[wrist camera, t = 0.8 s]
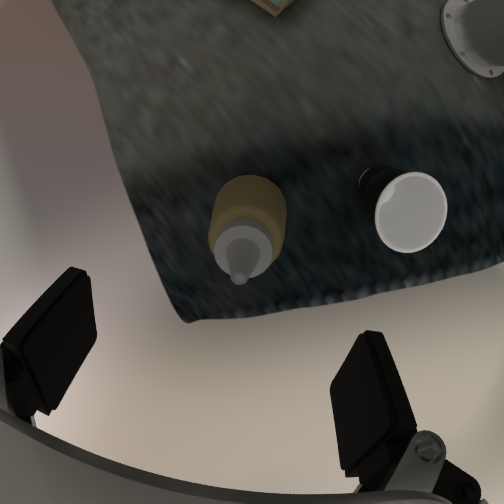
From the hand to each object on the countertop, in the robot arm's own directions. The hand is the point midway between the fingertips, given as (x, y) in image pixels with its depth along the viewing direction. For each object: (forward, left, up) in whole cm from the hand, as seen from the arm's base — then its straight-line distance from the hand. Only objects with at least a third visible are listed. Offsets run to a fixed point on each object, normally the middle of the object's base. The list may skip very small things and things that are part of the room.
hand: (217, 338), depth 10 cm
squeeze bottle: (+3, +2, -28) cm, 29 cm away
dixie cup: (-9, +12, -28) cm, 32 cm away
